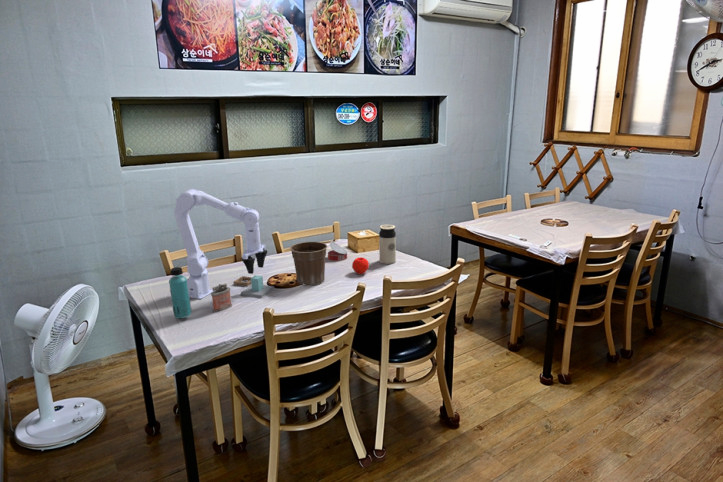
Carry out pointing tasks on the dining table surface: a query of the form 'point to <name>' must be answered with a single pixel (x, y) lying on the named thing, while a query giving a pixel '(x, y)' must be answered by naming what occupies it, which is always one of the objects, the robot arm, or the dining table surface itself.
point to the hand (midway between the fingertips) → (255, 270)
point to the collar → (238, 282)
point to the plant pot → (309, 262)
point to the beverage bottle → (179, 293)
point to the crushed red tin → (221, 298)
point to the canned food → (337, 252)
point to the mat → (257, 293)
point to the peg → (257, 283)
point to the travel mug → (387, 244)
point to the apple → (360, 265)
